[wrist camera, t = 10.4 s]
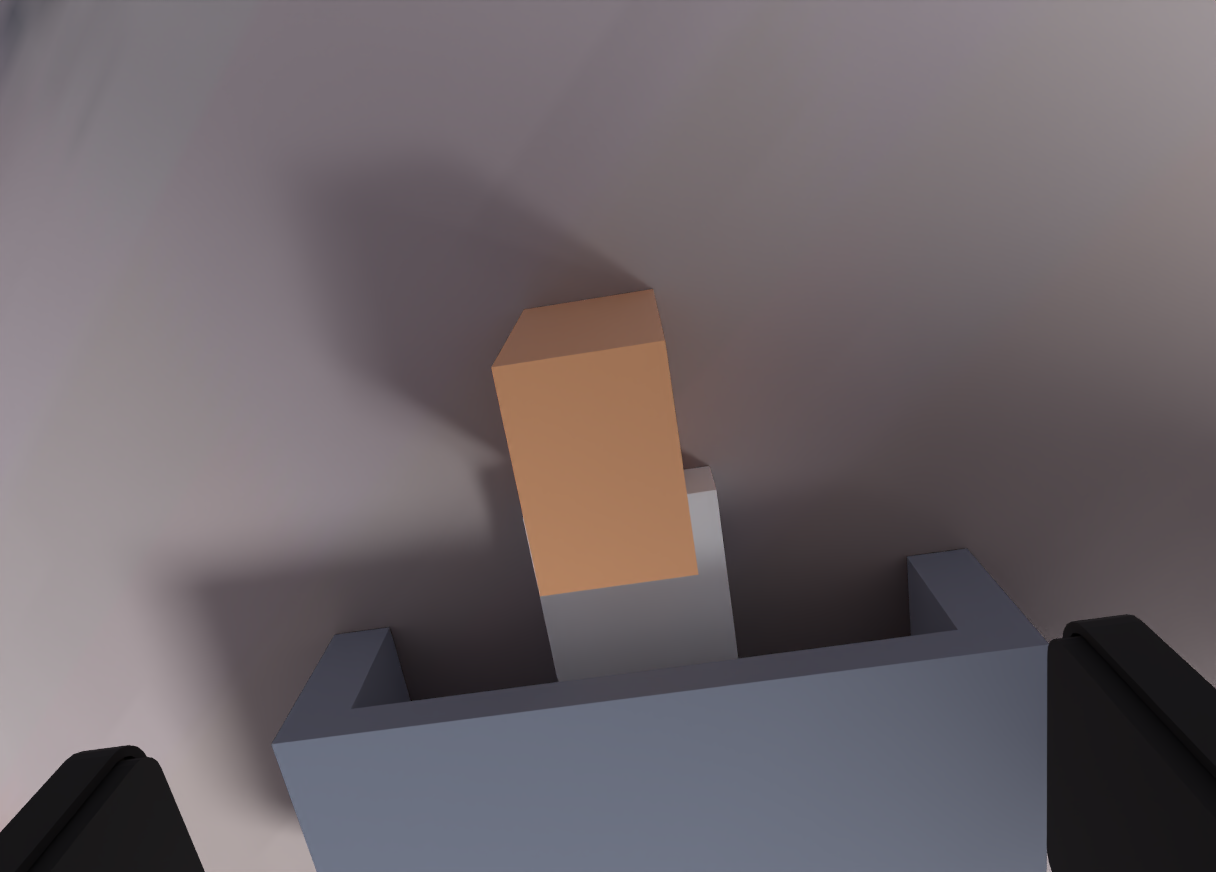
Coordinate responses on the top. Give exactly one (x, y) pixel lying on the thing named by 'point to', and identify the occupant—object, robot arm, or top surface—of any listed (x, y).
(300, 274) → the top surface
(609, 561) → the scraper tool
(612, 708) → the riser shelf
